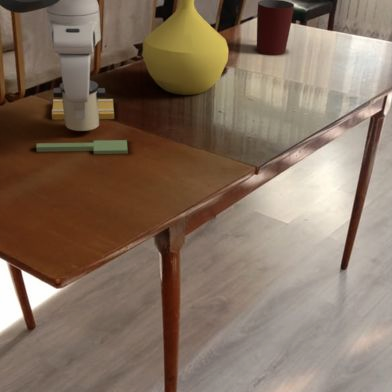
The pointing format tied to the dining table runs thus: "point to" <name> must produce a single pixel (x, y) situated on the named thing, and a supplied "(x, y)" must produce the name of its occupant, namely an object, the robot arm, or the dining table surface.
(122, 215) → the dining table surface
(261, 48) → the mug
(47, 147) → the spatula
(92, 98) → the pot
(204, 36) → the vase
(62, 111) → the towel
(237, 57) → the dining table surface
